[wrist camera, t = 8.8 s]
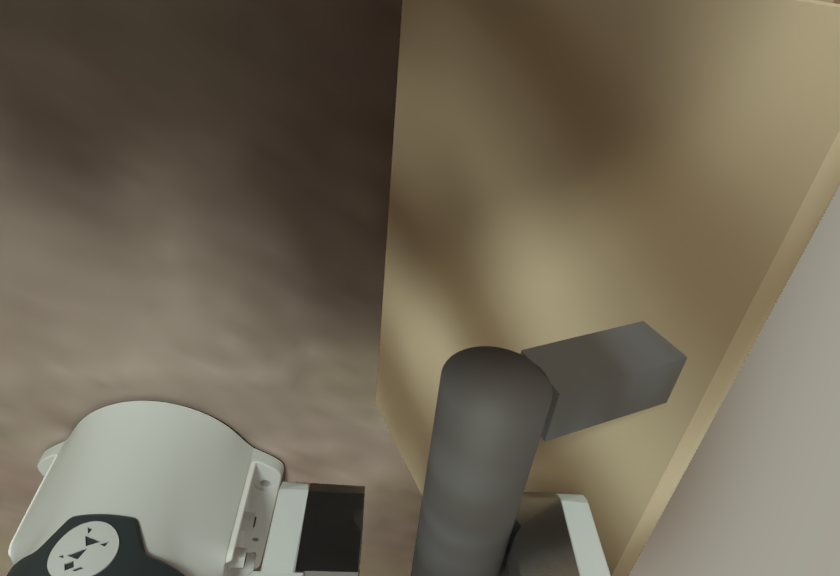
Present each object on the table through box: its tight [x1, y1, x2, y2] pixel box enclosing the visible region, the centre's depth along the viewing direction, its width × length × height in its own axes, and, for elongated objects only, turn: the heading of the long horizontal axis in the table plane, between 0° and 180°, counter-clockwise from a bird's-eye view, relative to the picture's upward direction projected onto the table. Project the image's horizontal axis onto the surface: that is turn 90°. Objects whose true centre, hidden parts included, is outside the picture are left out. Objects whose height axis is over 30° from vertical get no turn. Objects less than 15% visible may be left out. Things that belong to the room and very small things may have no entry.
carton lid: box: [376, 0, 840, 576], centre depth 15 cm, size 18×13×5 cm
